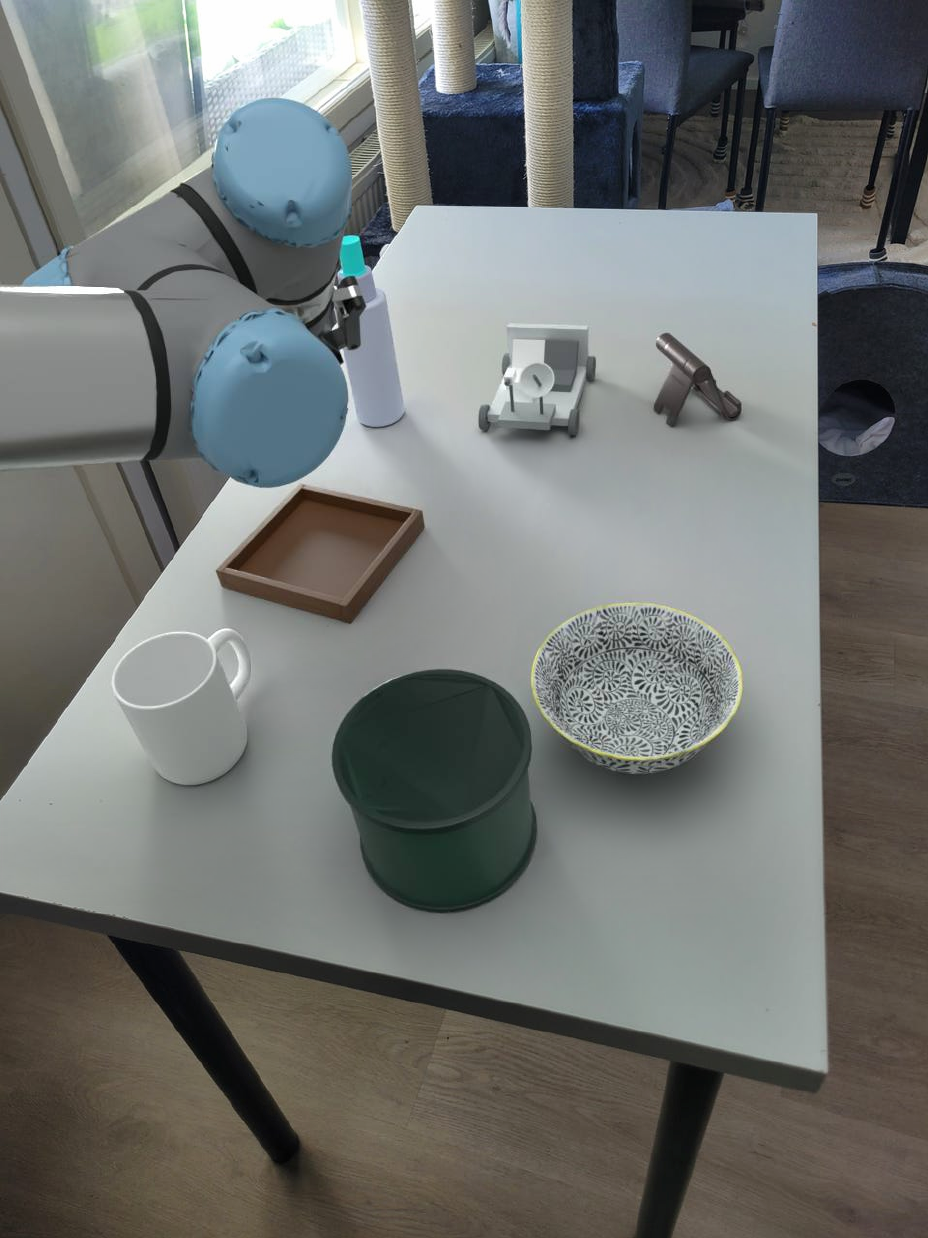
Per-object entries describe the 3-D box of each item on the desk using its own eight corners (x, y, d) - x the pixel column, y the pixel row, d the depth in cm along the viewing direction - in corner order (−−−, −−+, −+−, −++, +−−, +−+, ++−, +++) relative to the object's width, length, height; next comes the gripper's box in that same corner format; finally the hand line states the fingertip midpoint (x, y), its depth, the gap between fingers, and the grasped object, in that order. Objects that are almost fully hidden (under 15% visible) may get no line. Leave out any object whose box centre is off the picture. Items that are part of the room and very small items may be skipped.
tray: (221, 587, 95) (215, 570, 93) (303, 499, 104) (299, 482, 103) (350, 623, 89) (346, 606, 87) (425, 527, 98) (422, 510, 97)
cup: (133, 765, 79) (88, 686, 72) (227, 672, 86) (194, 591, 79) (204, 803, 75) (163, 723, 68) (296, 702, 82) (268, 621, 75)
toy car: (570, 376, 99) (465, 371, 102) (571, 453, 106) (473, 447, 108) (596, 299, 111) (502, 297, 114) (596, 373, 118) (507, 369, 121)
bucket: (326, 875, 69) (292, 788, 62) (412, 739, 78) (392, 649, 70) (492, 943, 64) (478, 858, 57) (565, 790, 73) (561, 698, 65)
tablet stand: (741, 419, 107) (749, 353, 101) (680, 437, 106) (685, 371, 100) (702, 385, 113) (708, 320, 107) (644, 401, 112) (647, 337, 106)
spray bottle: (407, 401, 117) (379, 226, 102) (402, 427, 113) (371, 249, 98) (361, 403, 118) (325, 230, 103) (353, 429, 114) (316, 253, 99)
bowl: (724, 834, 68) (734, 774, 63) (515, 798, 73) (509, 738, 67) (739, 677, 79) (749, 614, 74) (556, 653, 83) (554, 591, 78)
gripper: (156, 371, 62) (183, 456, 84) (432, 290, 66) (388, 391, 89) (116, 266, 62) (154, 379, 84) (394, 192, 66) (360, 318, 89)
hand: (274, 385), depth 86 cm, fingers closed on silver cup, 7 cm apart
